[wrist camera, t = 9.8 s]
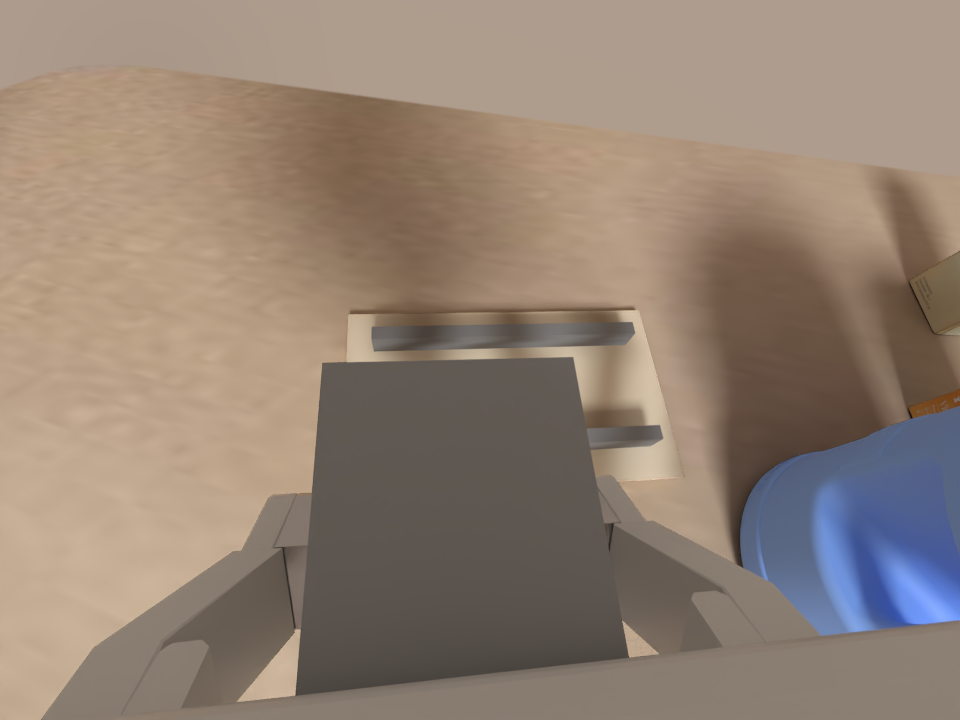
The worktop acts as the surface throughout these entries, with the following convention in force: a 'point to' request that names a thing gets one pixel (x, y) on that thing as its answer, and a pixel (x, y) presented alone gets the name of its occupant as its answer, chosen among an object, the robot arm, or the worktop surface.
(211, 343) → the worktop surface
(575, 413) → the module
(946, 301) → the skincare box
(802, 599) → the water jug
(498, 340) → the rail board
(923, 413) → the small box
